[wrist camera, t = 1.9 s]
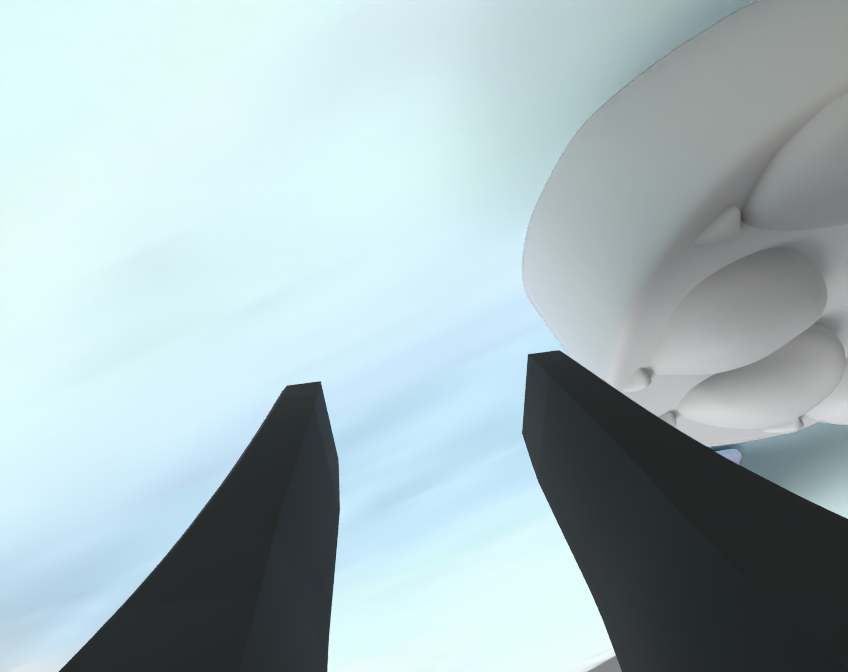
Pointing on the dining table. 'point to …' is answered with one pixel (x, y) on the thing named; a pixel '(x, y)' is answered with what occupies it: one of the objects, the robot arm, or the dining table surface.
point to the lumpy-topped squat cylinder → (711, 230)
